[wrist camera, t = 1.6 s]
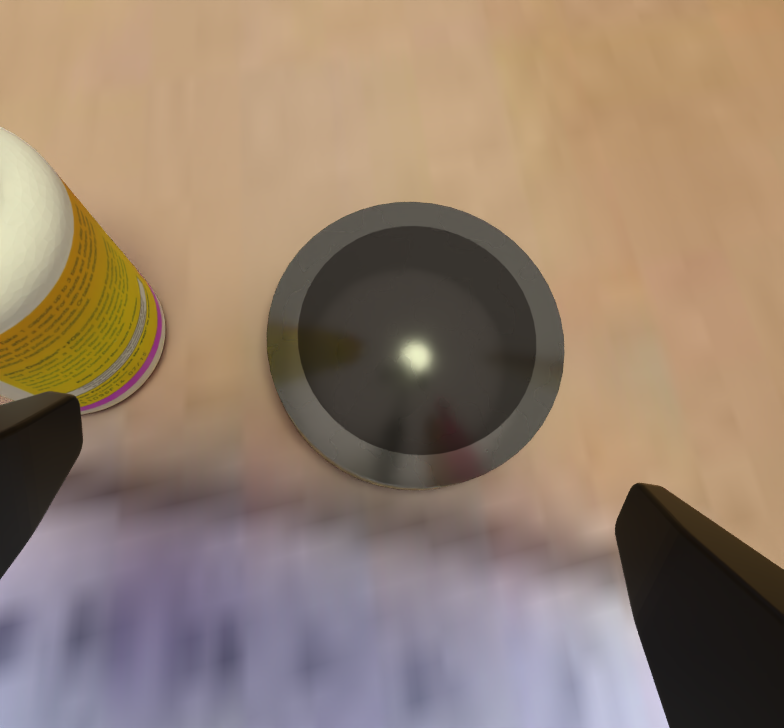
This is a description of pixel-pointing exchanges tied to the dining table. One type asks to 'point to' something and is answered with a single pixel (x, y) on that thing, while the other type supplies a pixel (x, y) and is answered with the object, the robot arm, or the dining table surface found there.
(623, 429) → the dining table surface
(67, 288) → the supplement bottle
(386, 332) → the dark grey bowl
